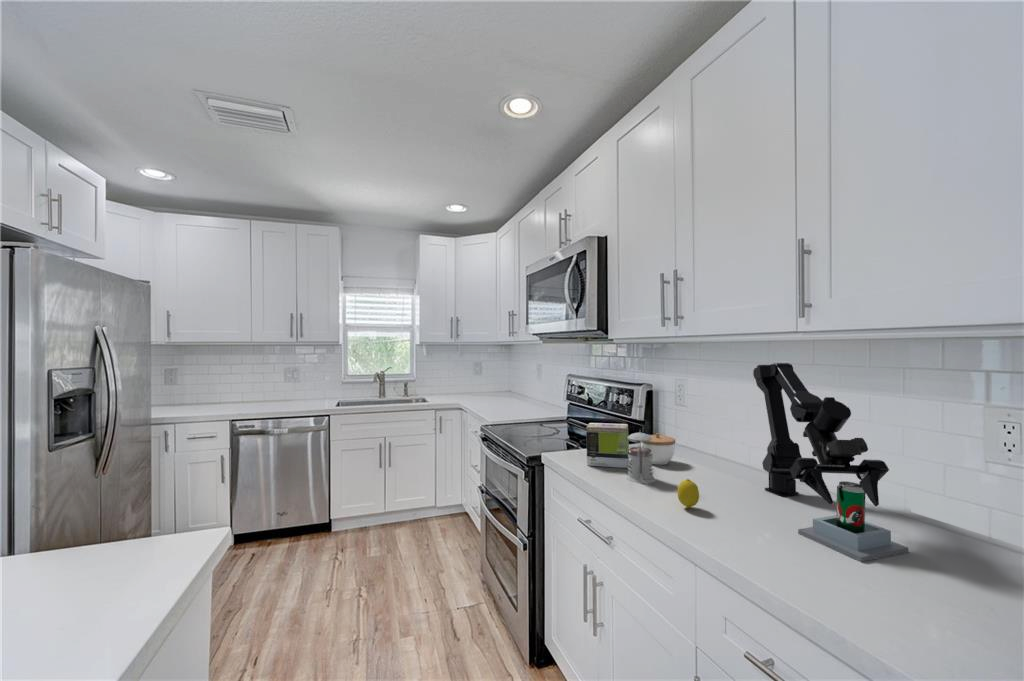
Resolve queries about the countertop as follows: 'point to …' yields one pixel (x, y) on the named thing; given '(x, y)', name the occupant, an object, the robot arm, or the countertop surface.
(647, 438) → the french press
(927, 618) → the countertop surface
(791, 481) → the robot arm
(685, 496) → the lemon
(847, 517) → the soda can
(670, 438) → the lidded bowl
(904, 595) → the countertop surface
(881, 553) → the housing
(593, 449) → the tea box
